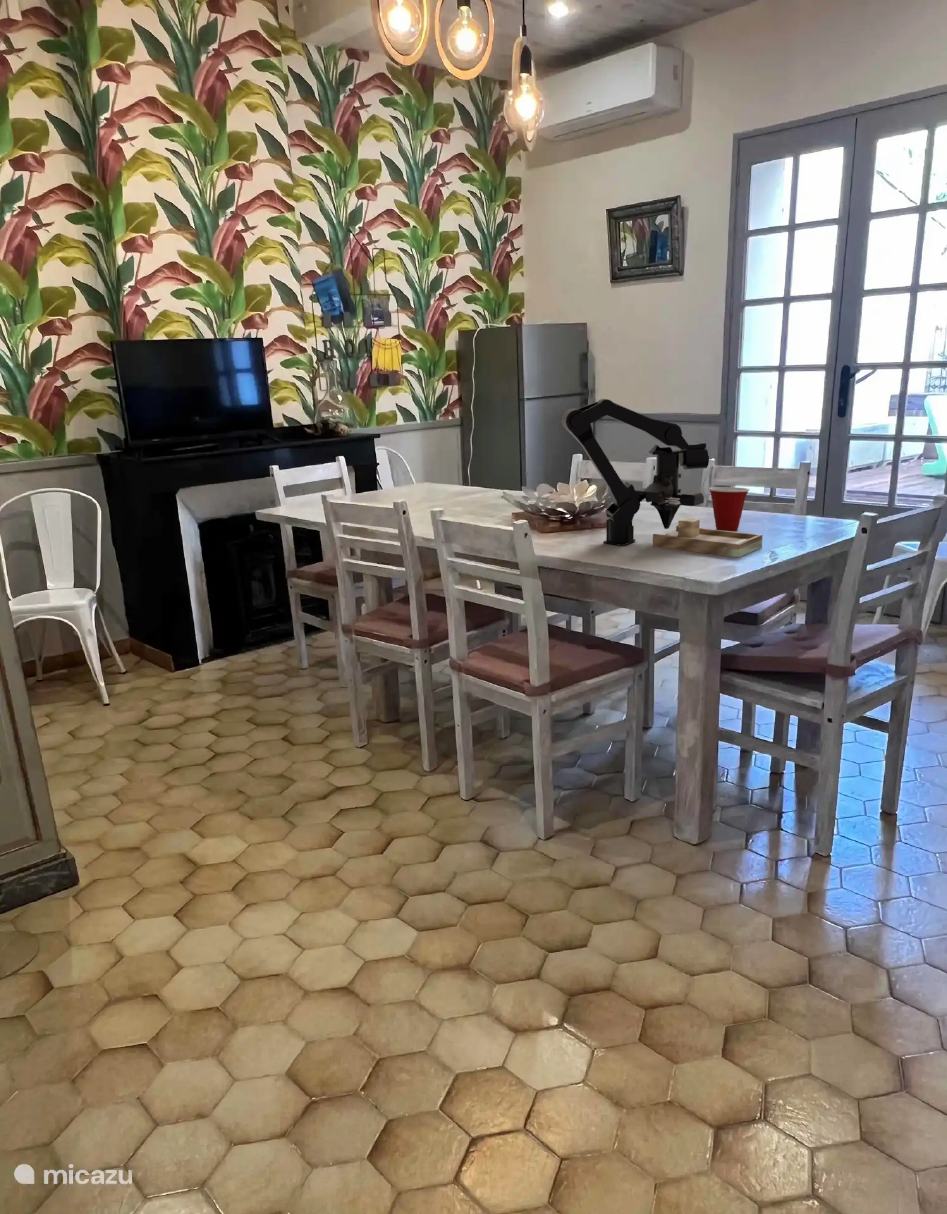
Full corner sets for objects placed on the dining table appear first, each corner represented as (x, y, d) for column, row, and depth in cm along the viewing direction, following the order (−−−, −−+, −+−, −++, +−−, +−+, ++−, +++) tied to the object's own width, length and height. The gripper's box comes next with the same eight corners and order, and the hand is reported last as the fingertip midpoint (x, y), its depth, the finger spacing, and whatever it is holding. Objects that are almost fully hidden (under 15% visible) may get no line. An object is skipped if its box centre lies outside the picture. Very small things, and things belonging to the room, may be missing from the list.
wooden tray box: (652, 546, 219) (652, 534, 218) (677, 537, 228) (677, 525, 227) (739, 557, 203) (739, 544, 202) (761, 547, 212) (762, 534, 211)
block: (678, 535, 221) (678, 520, 219) (685, 532, 223) (685, 517, 222) (691, 536, 218) (692, 521, 217) (699, 534, 221) (699, 519, 220)
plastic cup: (753, 528, 234) (755, 485, 231) (737, 535, 227) (739, 491, 223) (717, 524, 241) (719, 483, 238) (700, 531, 233) (701, 488, 230)
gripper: (620, 472, 221) (620, 530, 225) (684, 476, 209) (683, 537, 213) (643, 467, 229) (642, 523, 233) (705, 471, 216) (703, 529, 221)
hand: (666, 528), depth 225 cm, fingers closed
